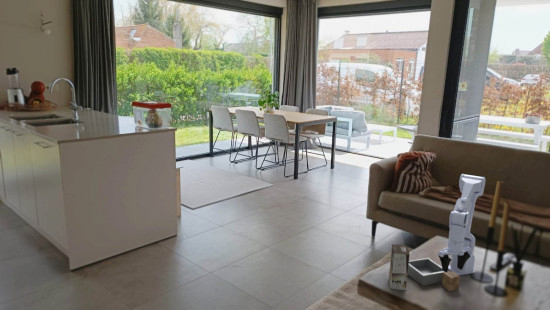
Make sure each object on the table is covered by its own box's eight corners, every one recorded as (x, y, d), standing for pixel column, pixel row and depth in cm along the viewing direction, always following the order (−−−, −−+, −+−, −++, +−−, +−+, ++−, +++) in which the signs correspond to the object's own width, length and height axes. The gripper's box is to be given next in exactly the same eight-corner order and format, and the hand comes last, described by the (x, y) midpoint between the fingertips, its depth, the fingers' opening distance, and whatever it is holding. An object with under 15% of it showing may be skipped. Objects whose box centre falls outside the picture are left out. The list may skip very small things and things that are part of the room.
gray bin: (427, 266, 183) (428, 257, 182) (447, 280, 171) (448, 271, 170) (403, 270, 179) (404, 261, 178) (422, 285, 167) (423, 275, 166)
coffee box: (406, 290, 163) (410, 254, 159) (390, 288, 164) (393, 253, 160) (403, 279, 171) (407, 245, 168) (388, 277, 172) (391, 243, 169)
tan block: (450, 283, 169) (452, 271, 167) (458, 289, 164) (460, 276, 163) (441, 285, 167) (443, 272, 166) (449, 291, 163) (451, 277, 162)
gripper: (448, 245, 155) (444, 277, 158) (478, 241, 160) (473, 272, 162) (436, 238, 162) (432, 268, 165) (464, 234, 166) (460, 264, 169)
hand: (452, 270), depth 164 cm, fingers open, 7 cm apart
